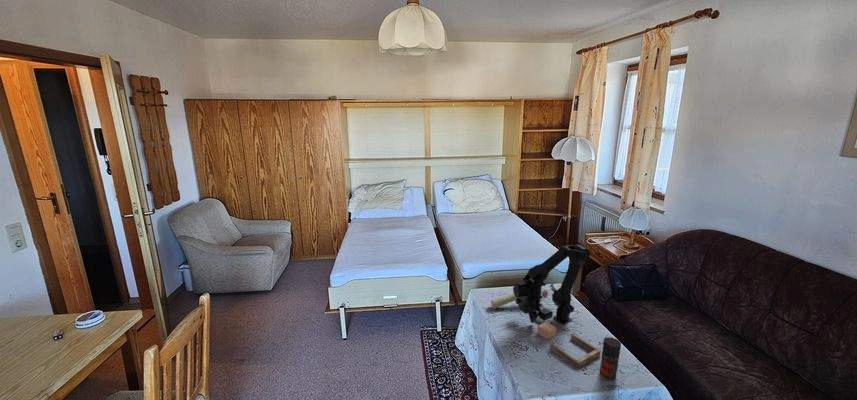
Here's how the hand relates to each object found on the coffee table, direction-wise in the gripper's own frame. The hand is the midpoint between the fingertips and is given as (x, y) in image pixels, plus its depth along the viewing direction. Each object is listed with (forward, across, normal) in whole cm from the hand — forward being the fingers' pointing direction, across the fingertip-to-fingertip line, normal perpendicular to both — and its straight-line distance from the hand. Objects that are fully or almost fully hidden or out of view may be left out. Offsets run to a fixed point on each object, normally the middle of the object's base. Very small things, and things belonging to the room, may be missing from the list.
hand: (532, 322), depth 175 cm
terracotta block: (+1, +9, 0) cm, 9 cm away
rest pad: (+1, 0, +6) cm, 6 cm away
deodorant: (+1, +40, 0) cm, 40 cm away
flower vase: (+1, -16, +9) cm, 18 cm away
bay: (+1, +25, 0) cm, 25 cm away
